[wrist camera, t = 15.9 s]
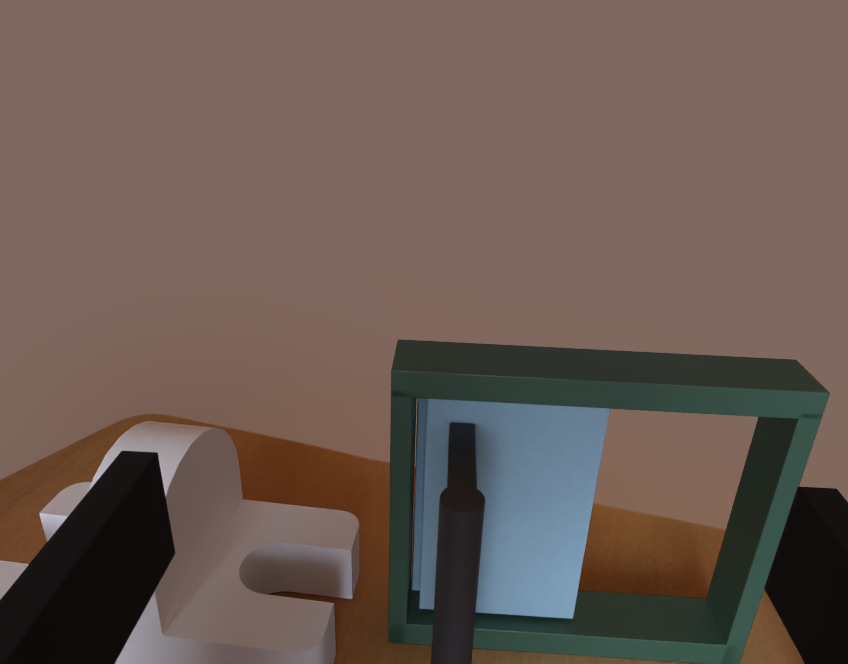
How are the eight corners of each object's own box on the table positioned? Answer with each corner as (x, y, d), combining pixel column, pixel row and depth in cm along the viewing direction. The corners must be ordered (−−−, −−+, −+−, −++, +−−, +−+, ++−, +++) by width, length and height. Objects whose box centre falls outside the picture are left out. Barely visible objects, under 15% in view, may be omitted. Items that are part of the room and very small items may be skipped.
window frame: (717, 617, 38) (796, 359, 31) (738, 666, 35) (831, 393, 28) (393, 597, 39) (397, 339, 32) (388, 642, 36) (391, 369, 29)
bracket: (-34, 658, 34) (-101, 482, 29) (82, 526, 43) (46, 375, 38) (319, 710, 32) (309, 530, 27) (363, 560, 41) (361, 405, 36)
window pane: (571, 610, 36) (607, 401, 30) (595, 734, 30) (646, 498, 24) (419, 600, 36) (427, 391, 31) (410, 721, 30) (418, 485, 24)
